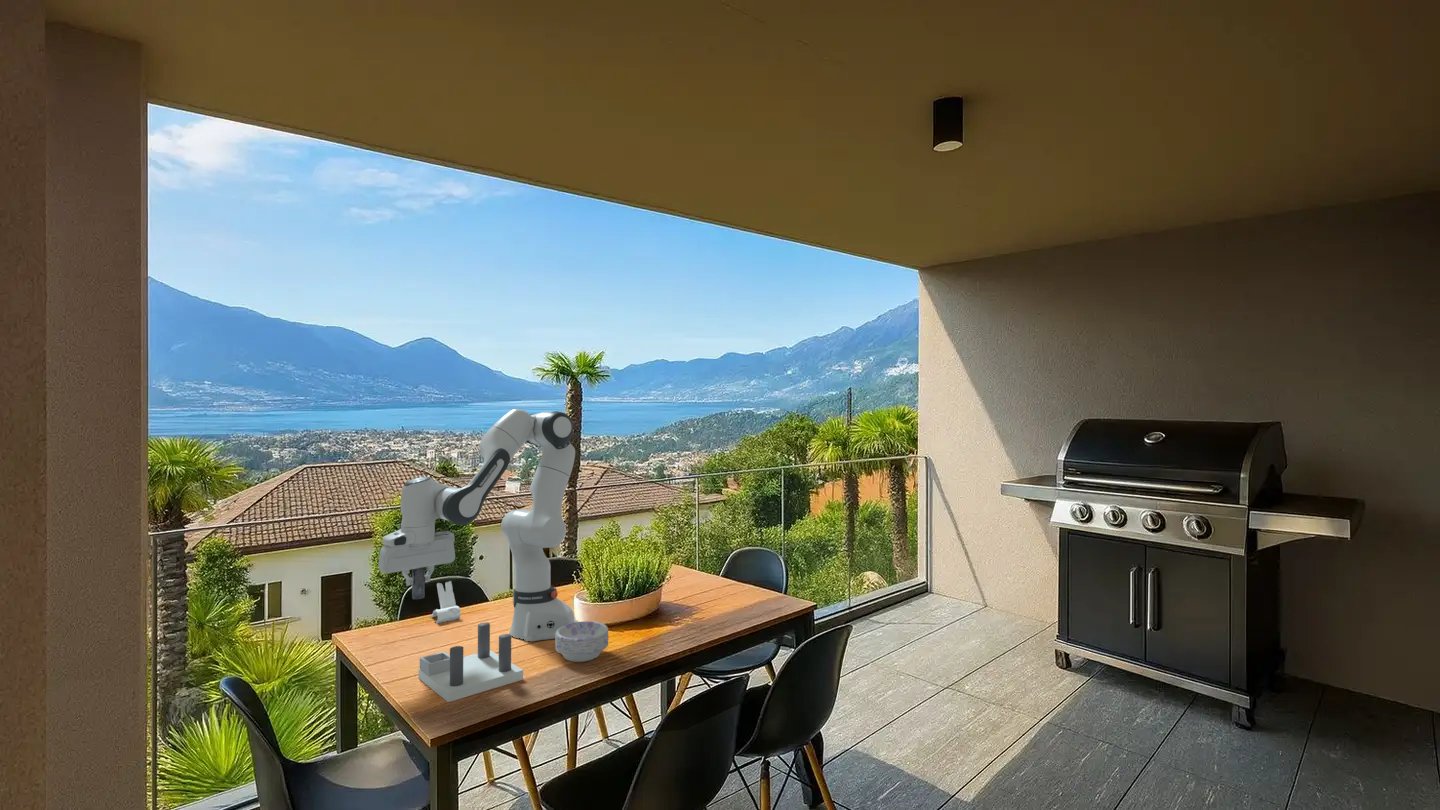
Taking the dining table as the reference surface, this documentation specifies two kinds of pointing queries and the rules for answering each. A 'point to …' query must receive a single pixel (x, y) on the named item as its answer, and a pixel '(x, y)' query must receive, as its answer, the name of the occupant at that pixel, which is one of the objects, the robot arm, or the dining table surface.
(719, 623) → the dining table surface
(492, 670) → the stool seat
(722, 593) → the dining table surface
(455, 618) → the plastic part
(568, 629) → the paper bowls
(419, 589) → the stool leg
